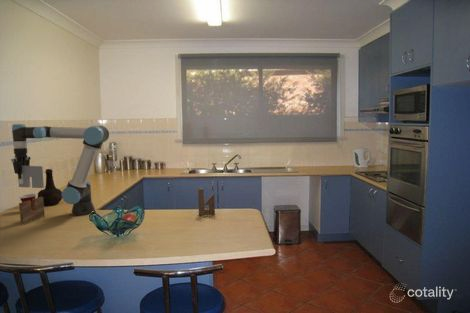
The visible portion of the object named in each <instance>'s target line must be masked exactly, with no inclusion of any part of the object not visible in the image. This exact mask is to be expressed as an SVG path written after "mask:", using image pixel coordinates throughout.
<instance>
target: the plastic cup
mask: <svg viewBox="0 0 470 313" xmlns="http://www.w3.org/2000/svg"><path fill="white" fill-rule="evenodd" d="M36 197H37V194H36V193H30V194H24V195H21V196H19V197H18V198H19V199H20V201H21V203H22V202H25V201H31V209H32V210H33V202H32V199H35V198H36Z"/></svg>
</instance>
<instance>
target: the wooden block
mask: <svg viewBox="0 0 470 313" xmlns="http://www.w3.org/2000/svg"><path fill="white" fill-rule="evenodd" d="M204 191H205V190H204V188H203V187H200V188H198V189H197V192H198V193H197V194H198V199H197V200H198V216H200V217H201V216H214V215H216V210H215V209H216V208H215V207H216V205H215V204H216V203H215V193H214V192H213V193H211V195H210V196H209V198H208V199H206V200H205V192H204ZM205 206H208V208H205Z"/></svg>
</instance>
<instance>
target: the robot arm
mask: <svg viewBox="0 0 470 313" xmlns="http://www.w3.org/2000/svg"><path fill="white" fill-rule="evenodd" d="M11 132H12V143H13V144H12V145H13V146H12V147H13V154H14V157H13V158H11V159H10V161H11V162H12V165H13V172H14V174H16V175H17V179H19V181H18V185H19V184H23V174H21V173H22V166H31V165H30V164H31V163H30V162H31V156H28V148H27V147H28V142H27V139H37V140H38V139H45V138H51V139H52V138H56V139H74V140H75V139H78V140H79V139H82V140H83V141H82V145H83V148H82V151H81V154H80V155H79V159H78V161H77V164H76V167H75V170H74V173H73V174H72V179H70V180H69V181H67V184H66V187H65V188H64V189H63V190H61V191H62V200H63V201H64V202H65V204H69V205H72V209H71V215H72V216H87V215H91V214H92V213H91V212H92V211H95V212H96V209H95V206H94V204H93V201H92V189H91V186H92V185H91V181H90V180H88V177H89V175H90V172H91V169H92V167H93V166H92V165H93V164H94V161H95V157H96V156H97V152H98V151H99V150H101V149H102V147H103V144H104V143H105V142H107V141H108V139H109V138H110V132H109V129H108V128H107V127H106V126H104V125H91V126H89V127H68V126H65V127H64V126H46V125H44V126H26V124H24V123H13V124H12V125H11ZM90 213H91V214H90Z"/></svg>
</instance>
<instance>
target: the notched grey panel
mask: <svg viewBox="0 0 470 313" xmlns="http://www.w3.org/2000/svg"><path fill="white" fill-rule="evenodd" d="M43 169H44V168H43V166H42V165H30V166H22V173H21V174H23V184H19V183H18V188H33V189H45V184H44V183H45V182H44V170H43ZM17 179H18V178H17ZM17 181H18V182H19V179H18V180H17Z"/></svg>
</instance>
